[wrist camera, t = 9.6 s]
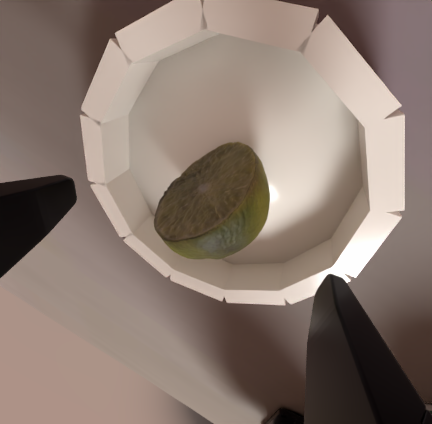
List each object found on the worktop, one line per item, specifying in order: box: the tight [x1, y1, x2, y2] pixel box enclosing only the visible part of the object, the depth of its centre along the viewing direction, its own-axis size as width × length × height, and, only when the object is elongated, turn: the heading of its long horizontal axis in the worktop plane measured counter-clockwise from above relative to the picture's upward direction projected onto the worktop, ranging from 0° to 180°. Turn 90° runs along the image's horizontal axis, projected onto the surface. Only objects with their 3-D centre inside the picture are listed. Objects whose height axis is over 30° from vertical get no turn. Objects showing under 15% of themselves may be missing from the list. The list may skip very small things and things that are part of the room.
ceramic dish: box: [80, 0, 405, 305], centre depth 12 cm, size 13×13×3 cm
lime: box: [154, 142, 270, 259], centre depth 10 cm, size 4×5×5 cm
